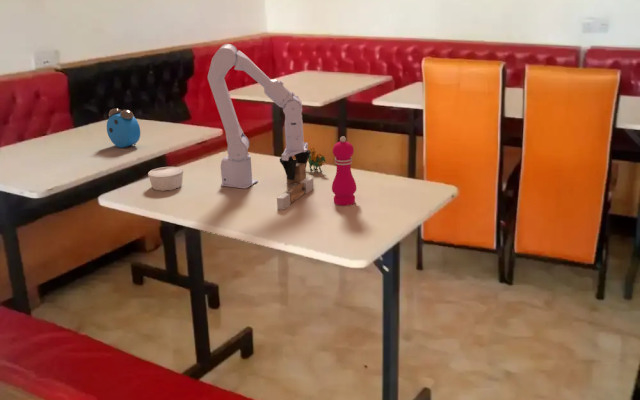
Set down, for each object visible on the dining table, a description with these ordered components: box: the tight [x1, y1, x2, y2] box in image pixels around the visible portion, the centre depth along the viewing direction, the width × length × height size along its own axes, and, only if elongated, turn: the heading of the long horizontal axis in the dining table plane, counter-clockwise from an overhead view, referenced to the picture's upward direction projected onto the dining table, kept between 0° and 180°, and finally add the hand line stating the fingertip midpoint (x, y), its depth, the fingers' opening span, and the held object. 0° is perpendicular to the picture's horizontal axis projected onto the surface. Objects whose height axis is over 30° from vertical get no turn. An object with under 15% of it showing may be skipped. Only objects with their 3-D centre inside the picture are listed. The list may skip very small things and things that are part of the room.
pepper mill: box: [331, 136, 357, 206], centre depth 196 cm, size 7×7×20 cm
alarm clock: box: [106, 108, 141, 149], centre depth 265 cm, size 13×6×15 cm, turn 57°
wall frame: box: [276, 176, 314, 211], centre depth 203 cm, size 2×20×4 cm, turn 155°
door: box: [288, 183, 306, 204], centre depth 203 cm, size 2×9×3 cm, turn 155°
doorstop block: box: [286, 163, 307, 185], centre depth 218 cm, size 5×4×6 cm
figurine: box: [308, 146, 327, 173], centre depth 228 cm, size 3×12×8 cm, turn 42°
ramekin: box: [147, 166, 184, 192], centre depth 218 cm, size 11×11×5 cm
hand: (296, 175), depth 218 cm, fingers open, 7 cm apart
